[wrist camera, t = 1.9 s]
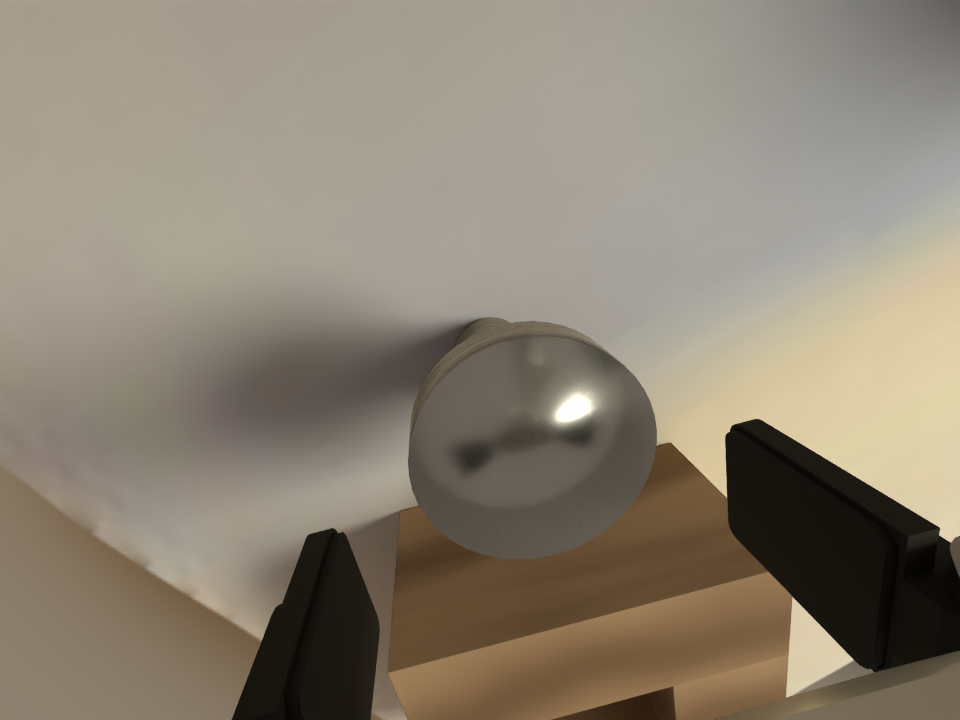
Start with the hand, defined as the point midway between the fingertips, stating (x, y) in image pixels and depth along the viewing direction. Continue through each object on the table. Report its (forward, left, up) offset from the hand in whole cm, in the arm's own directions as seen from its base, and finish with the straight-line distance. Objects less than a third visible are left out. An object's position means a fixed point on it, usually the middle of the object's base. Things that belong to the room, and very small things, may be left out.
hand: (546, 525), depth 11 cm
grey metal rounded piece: (-1, 0, -10) cm, 10 cm away
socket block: (+13, +1, -10) cm, 17 cm away
